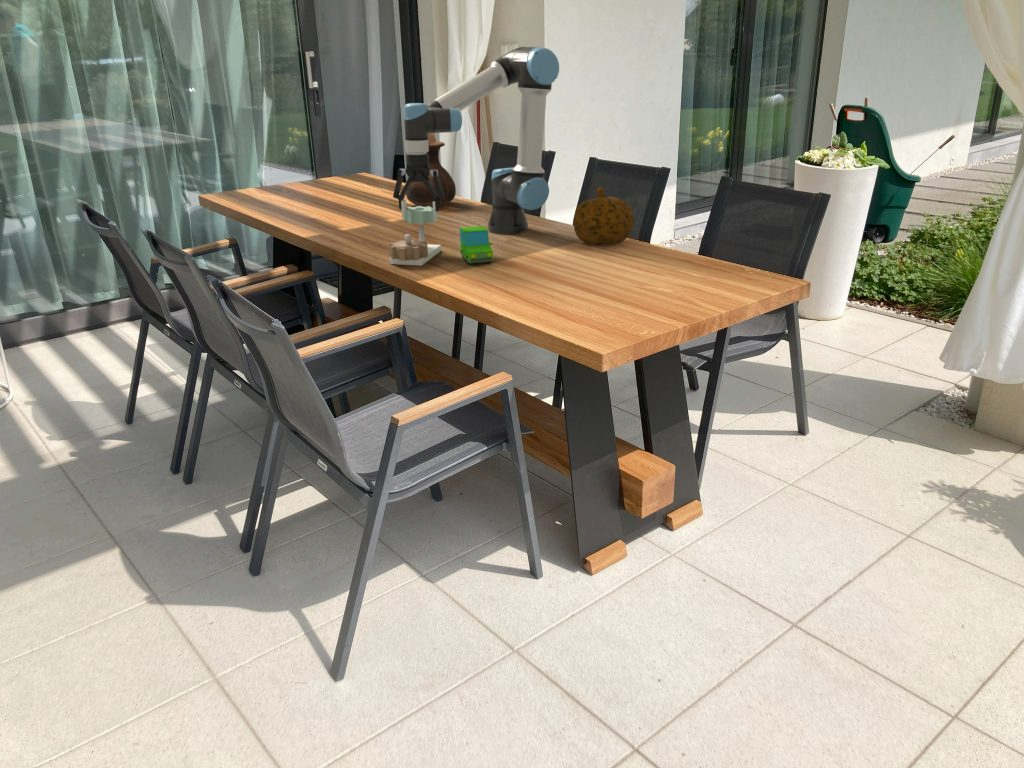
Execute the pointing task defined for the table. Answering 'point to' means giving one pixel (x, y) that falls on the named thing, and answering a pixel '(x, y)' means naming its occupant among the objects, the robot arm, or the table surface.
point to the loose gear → (418, 215)
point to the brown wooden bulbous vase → (419, 191)
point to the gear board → (422, 260)
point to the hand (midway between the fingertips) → (420, 220)
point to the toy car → (475, 245)
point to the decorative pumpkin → (603, 220)
